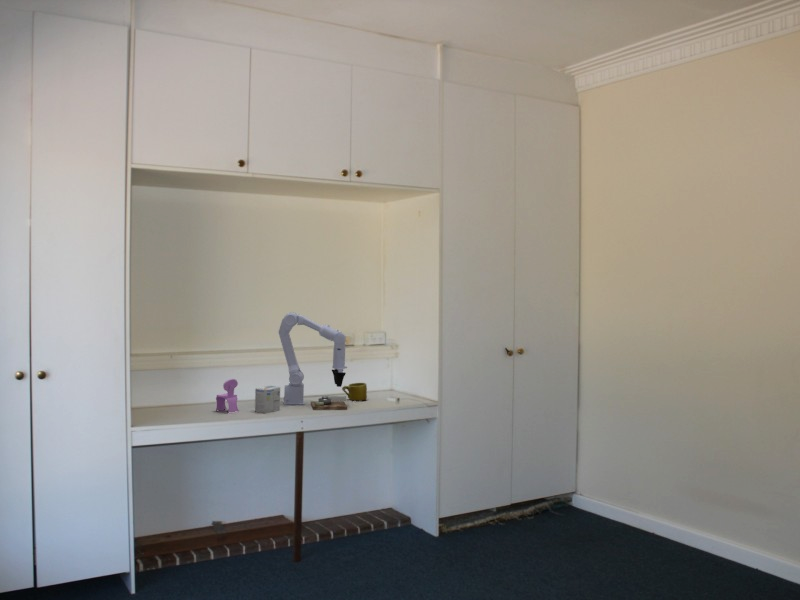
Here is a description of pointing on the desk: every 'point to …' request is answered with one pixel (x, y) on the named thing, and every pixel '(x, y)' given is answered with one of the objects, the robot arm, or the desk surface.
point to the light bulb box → (267, 399)
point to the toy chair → (228, 396)
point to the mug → (356, 391)
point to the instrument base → (329, 405)
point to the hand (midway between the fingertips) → (338, 385)
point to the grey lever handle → (331, 399)
